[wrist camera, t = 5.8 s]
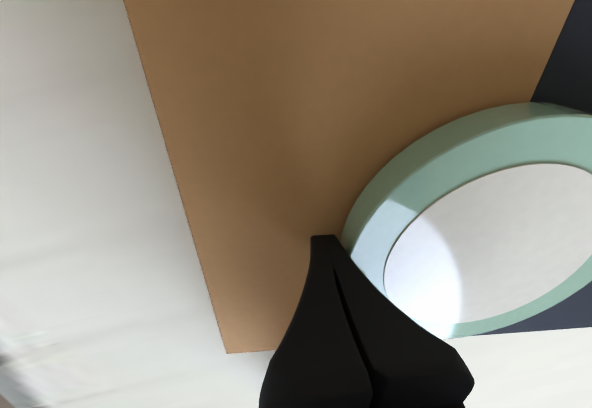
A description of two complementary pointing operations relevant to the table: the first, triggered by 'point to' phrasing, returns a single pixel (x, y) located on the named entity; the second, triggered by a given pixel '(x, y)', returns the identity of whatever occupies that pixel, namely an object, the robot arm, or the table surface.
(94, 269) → the table surface
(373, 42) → the desk mat
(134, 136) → the table surface
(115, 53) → the table surface
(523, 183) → the plate
